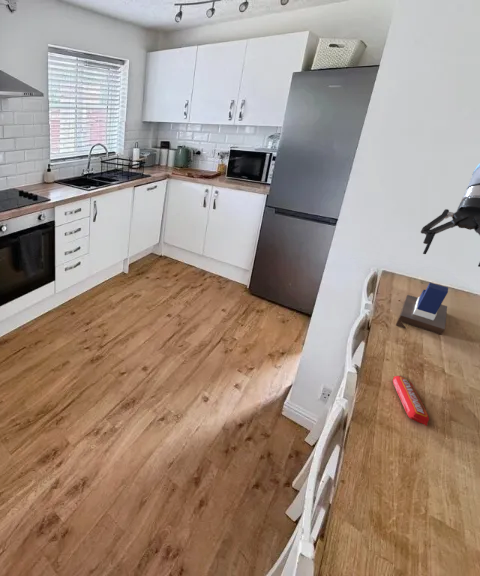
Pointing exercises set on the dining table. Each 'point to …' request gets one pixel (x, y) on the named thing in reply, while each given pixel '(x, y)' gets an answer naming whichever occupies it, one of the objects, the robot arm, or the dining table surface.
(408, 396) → the candy bar
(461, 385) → the dining table surface
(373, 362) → the dining table surface
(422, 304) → the two-tone navy white block
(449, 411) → the dining table surface
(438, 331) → the shoe shelf
